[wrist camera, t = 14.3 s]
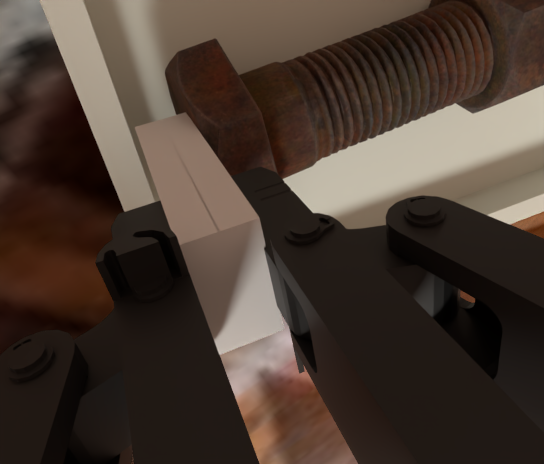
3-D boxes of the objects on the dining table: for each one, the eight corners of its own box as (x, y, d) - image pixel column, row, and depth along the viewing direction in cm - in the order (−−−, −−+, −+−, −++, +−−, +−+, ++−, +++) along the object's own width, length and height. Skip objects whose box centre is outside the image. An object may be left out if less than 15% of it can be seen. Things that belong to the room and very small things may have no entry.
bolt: (508, 10, 21) (179, 136, 18) (569, -120, 16) (145, 22, 14) (606, 104, 18) (243, 266, 16) (710, -19, 14) (227, 178, 11)
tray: (562, 166, 25) (606, 187, 23) (169, 310, 21) (180, 350, 19) (634, -256, 16) (717, -286, 14) (-10, -147, 12) (-28, -165, 10)
